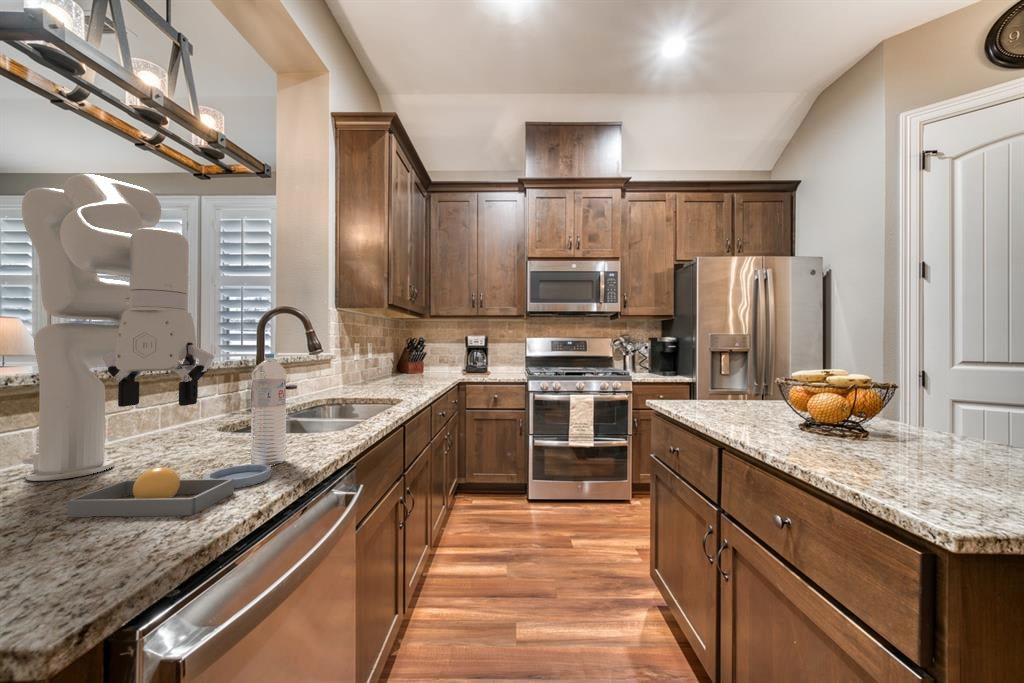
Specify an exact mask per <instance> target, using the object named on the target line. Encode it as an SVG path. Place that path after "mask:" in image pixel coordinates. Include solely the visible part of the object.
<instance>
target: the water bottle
mask: <svg viewBox="0 0 1024 683" xmlns="http://www.w3.org/2000/svg"><path fill="white" fill-rule="evenodd" d="M264 357H265V358H264V359H265V360H263V361H261V362H260V363H258V365H257V366H255V367H254V368H253V370H252V372H251V381H252V383H251V385H252V386H251V387H252V388H251V409H250V410H251V412H250V413H251V419H250V423H251V424H250V427H251V428H250V464H264V465H269V466H270V465H274V464H278V463H281V462H283V461H284V462H285V461H286V451H287V449H286V448H287V445H286V444H287V433H286V432H287V404H286V400H287V398H286V395H287V394H286V392H287V391H286V390H287V389H286V388H287V387H286V385H287V370H286V369H285V367H284V366H283V365H281V363H280V362H278V361H277V360H275V359H274V358H275V353H265V354H264ZM284 462H283V463H284ZM281 464H282V463H281Z"/></svg>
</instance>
